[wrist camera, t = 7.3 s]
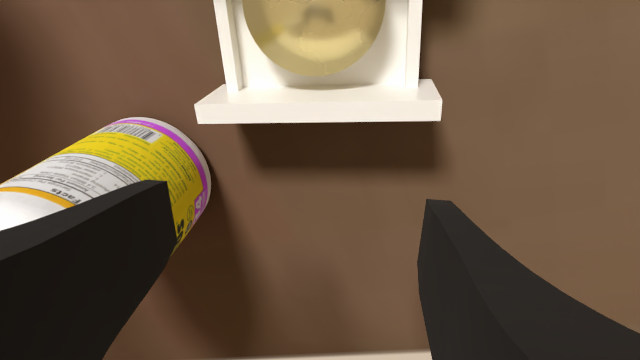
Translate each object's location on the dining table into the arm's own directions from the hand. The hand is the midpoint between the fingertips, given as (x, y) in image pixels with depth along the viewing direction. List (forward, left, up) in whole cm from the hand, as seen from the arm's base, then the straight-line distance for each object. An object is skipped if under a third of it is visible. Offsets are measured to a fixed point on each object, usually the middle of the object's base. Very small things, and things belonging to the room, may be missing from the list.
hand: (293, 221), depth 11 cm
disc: (0, +5, -9) cm, 10 cm away
